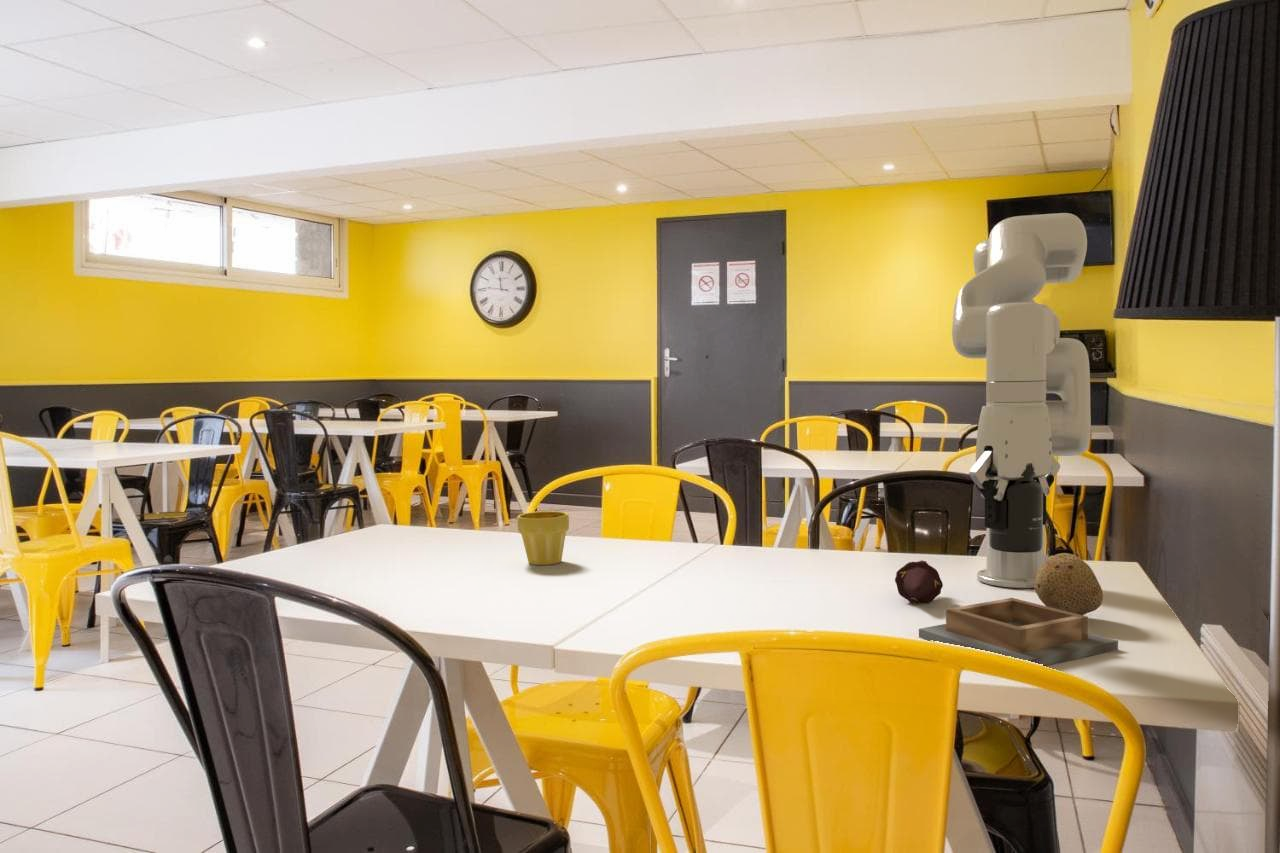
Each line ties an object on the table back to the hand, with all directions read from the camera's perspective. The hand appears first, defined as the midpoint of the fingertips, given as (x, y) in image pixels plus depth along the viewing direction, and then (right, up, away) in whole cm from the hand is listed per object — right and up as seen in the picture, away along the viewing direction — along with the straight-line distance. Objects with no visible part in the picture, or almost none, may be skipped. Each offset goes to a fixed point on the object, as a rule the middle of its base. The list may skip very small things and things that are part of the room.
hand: (1015, 525), depth 133 cm
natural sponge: (+12, -16, +13) cm, 24 cm away
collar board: (0, -16, +1) cm, 16 cm away
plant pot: (-70, -14, +65) cm, 97 cm away
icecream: (-6, -15, +25) cm, 30 cm away
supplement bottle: (0, -4, 0) cm, 4 cm away
